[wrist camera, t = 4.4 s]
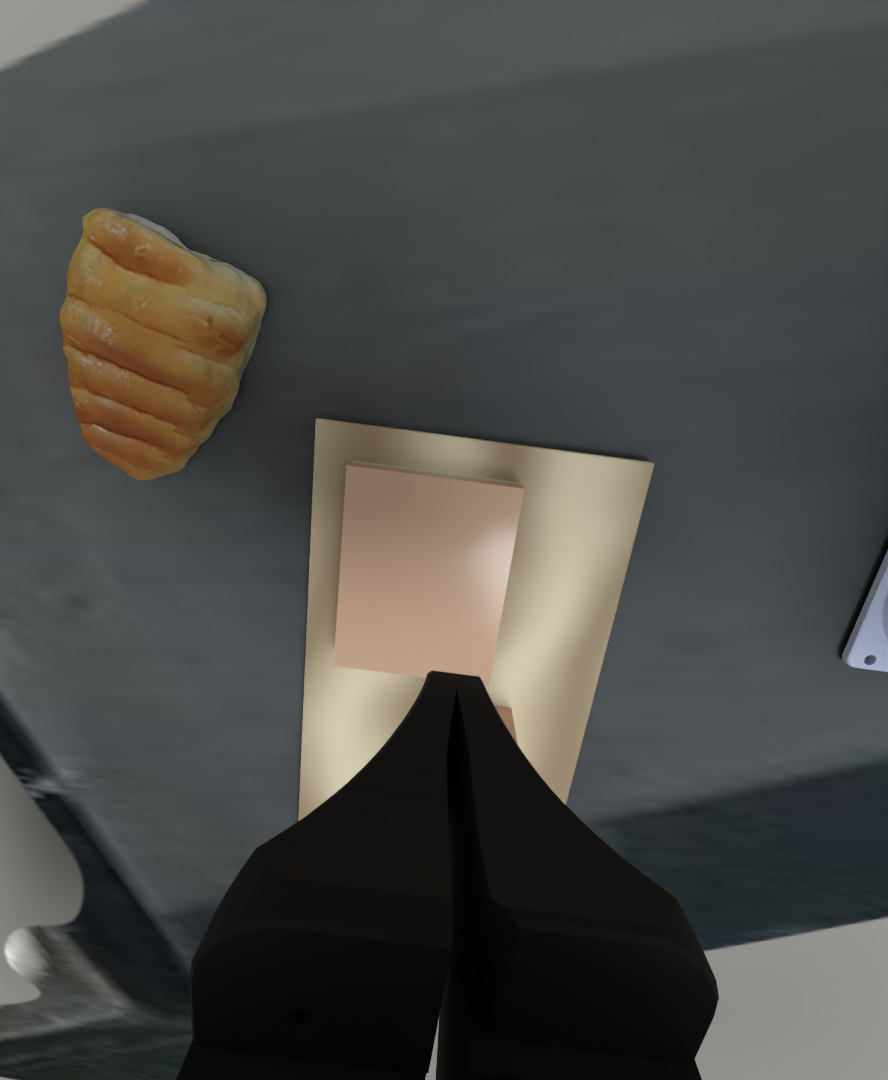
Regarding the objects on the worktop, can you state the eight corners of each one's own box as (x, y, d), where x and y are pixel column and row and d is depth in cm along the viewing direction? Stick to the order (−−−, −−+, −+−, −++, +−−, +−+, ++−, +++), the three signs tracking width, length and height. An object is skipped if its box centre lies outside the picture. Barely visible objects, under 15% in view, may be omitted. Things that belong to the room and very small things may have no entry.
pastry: (221, 498, 21) (169, 518, 17) (75, 436, 20) (-11, 443, 17) (285, 285, 18) (240, 255, 15) (119, 207, 18) (29, 156, 14)
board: (648, 461, 19) (654, 463, 19) (542, 877, 27) (543, 888, 26) (320, 418, 19) (315, 418, 19) (300, 846, 26) (296, 856, 26)
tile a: (524, 488, 18) (346, 465, 18) (488, 685, 21) (333, 665, 21) (519, 482, 19) (354, 460, 19) (487, 668, 22) (341, 649, 22)
